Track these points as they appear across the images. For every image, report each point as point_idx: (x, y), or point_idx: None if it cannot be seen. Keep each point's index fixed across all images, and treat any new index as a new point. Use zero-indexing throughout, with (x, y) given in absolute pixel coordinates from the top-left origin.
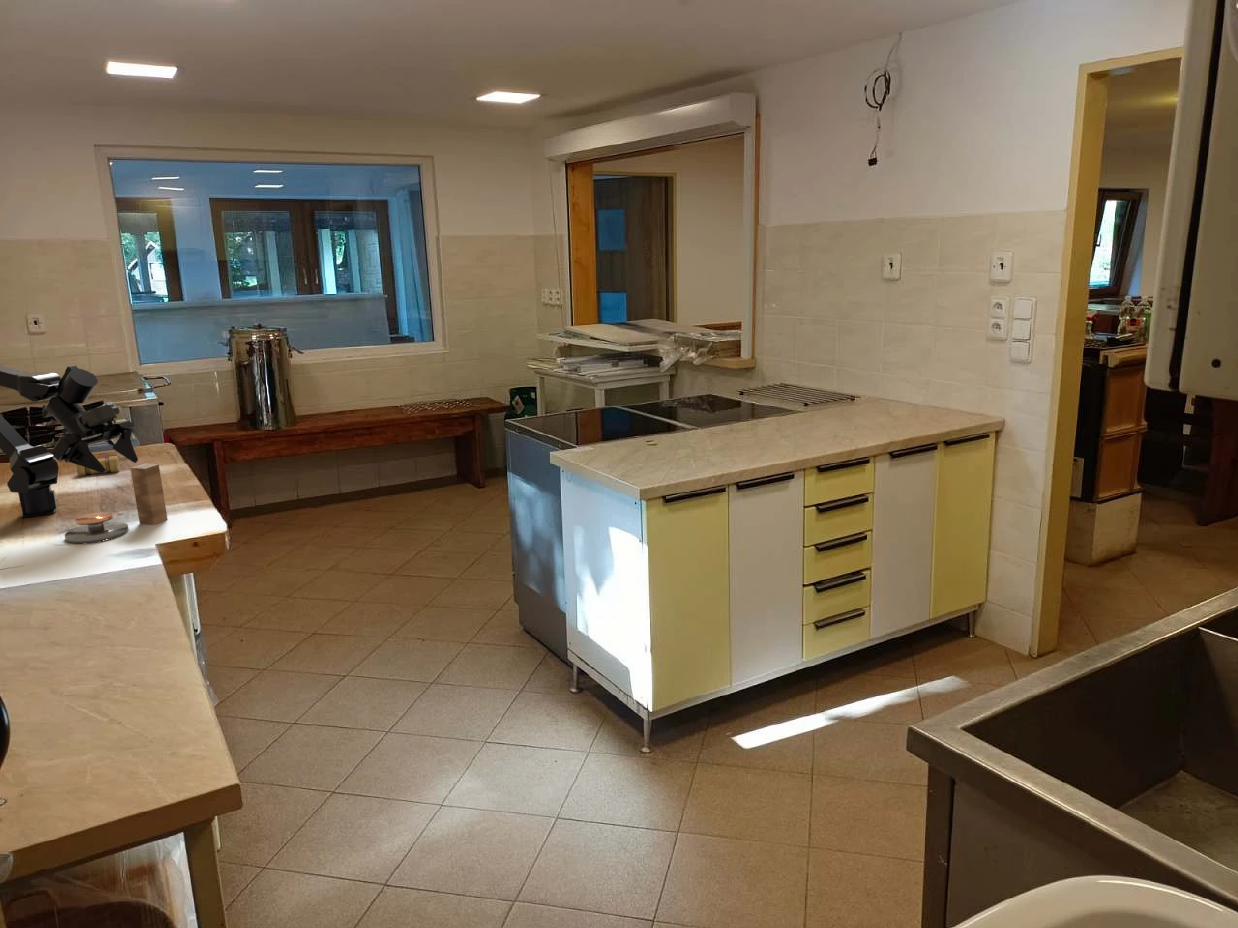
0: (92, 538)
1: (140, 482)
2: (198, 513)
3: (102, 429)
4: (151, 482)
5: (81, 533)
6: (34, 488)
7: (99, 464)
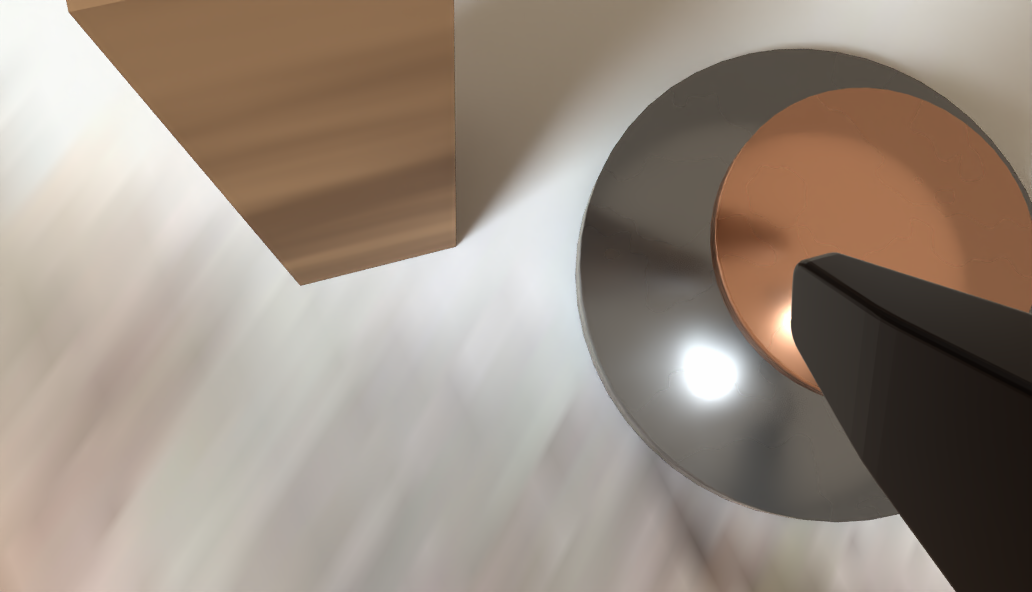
0: (938, 94)
1: None
2: (29, 45)
3: None
4: None
5: None
6: None
7: (950, 304)
